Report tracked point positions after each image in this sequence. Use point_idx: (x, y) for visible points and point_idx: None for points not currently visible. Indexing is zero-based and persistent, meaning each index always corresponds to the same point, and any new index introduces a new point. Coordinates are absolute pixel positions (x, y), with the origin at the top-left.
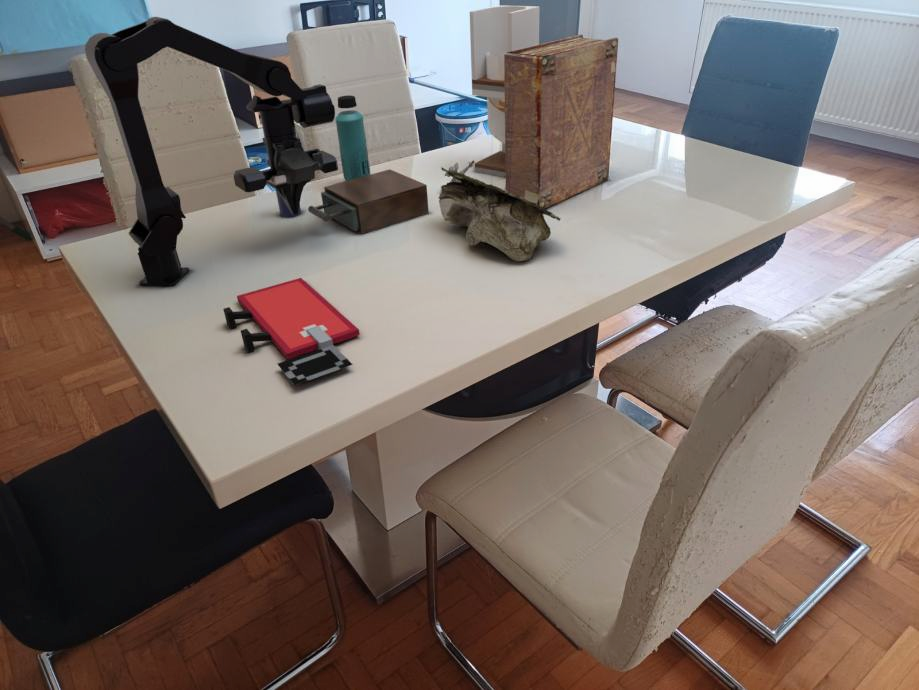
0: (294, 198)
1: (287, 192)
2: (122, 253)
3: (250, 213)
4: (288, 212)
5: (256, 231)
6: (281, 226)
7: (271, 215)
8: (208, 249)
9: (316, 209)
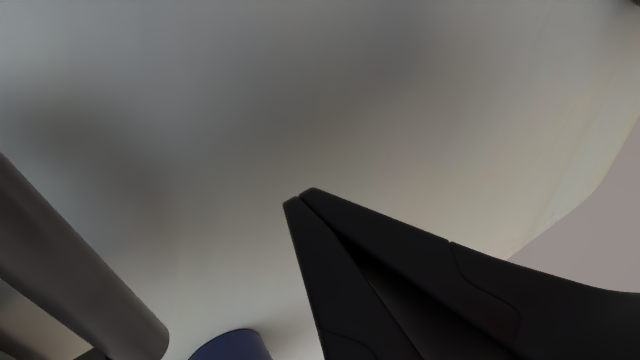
0: (378, 304)
1: (550, 315)
2: (589, 144)
3: None
4: (242, 349)
5: None
6: (276, 258)
7: (287, 336)
8: (508, 110)
9: (98, 320)
